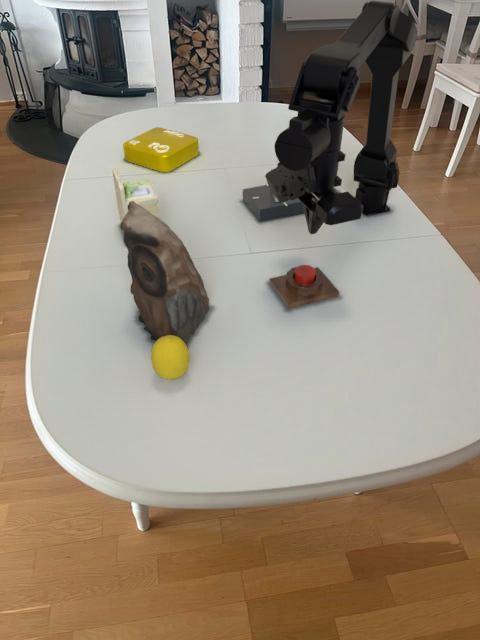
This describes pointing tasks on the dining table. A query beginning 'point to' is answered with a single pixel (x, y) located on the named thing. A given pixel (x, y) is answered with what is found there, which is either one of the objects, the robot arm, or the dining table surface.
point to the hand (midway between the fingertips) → (312, 232)
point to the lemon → (170, 357)
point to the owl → (162, 276)
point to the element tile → (161, 149)
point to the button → (304, 274)
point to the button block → (303, 289)
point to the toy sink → (134, 195)
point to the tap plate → (269, 204)
